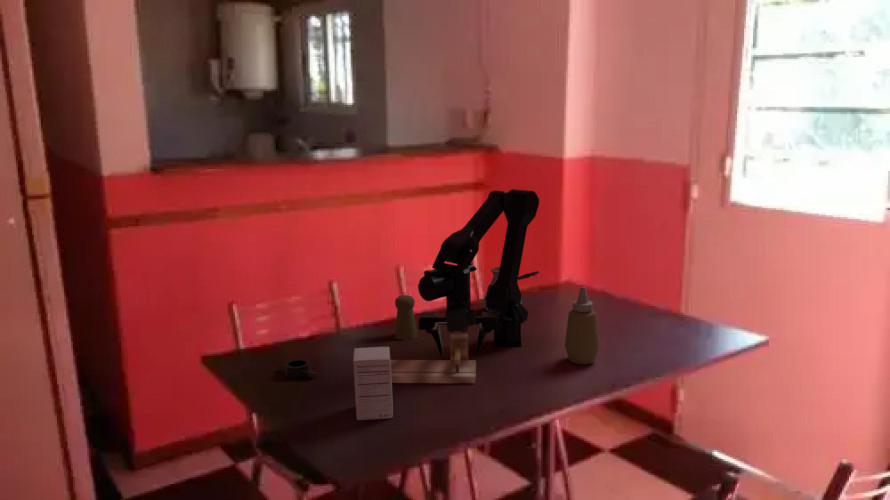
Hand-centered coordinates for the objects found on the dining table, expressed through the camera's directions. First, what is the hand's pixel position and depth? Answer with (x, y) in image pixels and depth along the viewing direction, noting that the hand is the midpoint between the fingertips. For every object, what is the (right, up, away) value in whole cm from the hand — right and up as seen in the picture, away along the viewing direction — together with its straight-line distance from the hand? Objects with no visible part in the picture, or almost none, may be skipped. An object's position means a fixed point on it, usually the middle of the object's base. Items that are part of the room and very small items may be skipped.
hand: (459, 355), depth 172 cm
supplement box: (-18, -8, -26) cm, 33 cm away
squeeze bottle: (+29, -1, -1) cm, 29 cm away
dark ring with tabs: (-37, -4, -5) cm, 38 cm away
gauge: (0, -3, -4) cm, 5 cm away
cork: (-14, +2, +20) cm, 24 cm away
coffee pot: (+16, +6, +35) cm, 39 cm away
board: (-7, -3, -7) cm, 11 cm away
